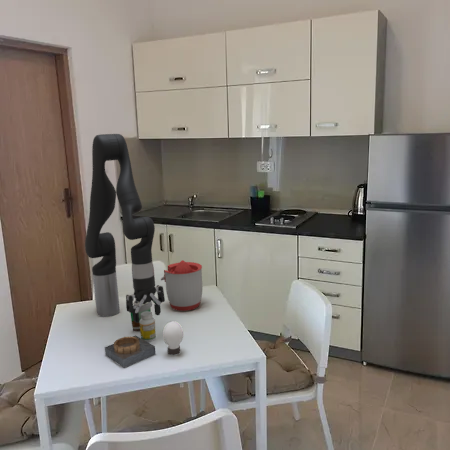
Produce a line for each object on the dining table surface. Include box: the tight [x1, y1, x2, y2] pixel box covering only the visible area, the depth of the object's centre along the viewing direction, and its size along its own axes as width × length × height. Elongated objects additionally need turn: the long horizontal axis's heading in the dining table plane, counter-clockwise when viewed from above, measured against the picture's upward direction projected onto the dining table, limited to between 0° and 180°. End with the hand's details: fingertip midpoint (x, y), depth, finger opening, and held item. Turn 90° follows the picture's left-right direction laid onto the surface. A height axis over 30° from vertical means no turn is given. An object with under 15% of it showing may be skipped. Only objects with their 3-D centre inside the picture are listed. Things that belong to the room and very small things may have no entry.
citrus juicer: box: [160, 260, 203, 312], centre depth 194 cm, size 16×17×20 cm
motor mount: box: [104, 335, 157, 369], centre depth 156 cm, size 12×12×5 cm
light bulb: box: [162, 320, 184, 356], centre depth 155 cm, size 7×7×11 cm
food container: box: [129, 301, 153, 332], centre depth 177 cm, size 12×6×10 cm, turn 168°
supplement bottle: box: [139, 311, 157, 343], centre depth 167 cm, size 5×5×10 cm
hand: (147, 318), depth 166 cm, fingers open, 8 cm apart
